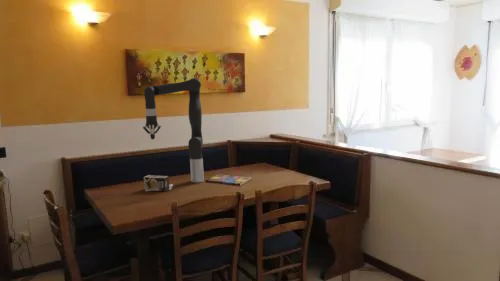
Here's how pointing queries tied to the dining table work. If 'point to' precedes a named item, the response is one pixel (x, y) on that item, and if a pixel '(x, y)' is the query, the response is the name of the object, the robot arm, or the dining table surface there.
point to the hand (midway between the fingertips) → (152, 139)
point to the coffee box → (156, 183)
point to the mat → (168, 189)
